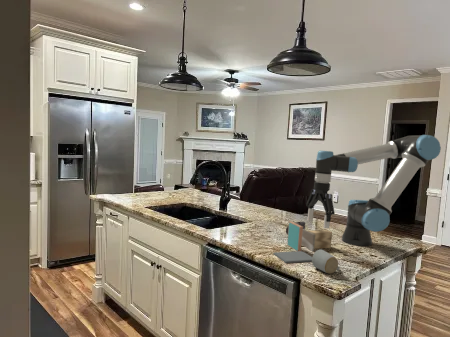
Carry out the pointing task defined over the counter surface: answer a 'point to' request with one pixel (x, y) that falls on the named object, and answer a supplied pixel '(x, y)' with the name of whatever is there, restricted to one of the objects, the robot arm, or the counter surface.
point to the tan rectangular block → (316, 239)
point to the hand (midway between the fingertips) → (317, 224)
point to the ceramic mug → (325, 262)
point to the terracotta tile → (295, 236)
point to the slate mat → (293, 256)
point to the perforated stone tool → (298, 224)
